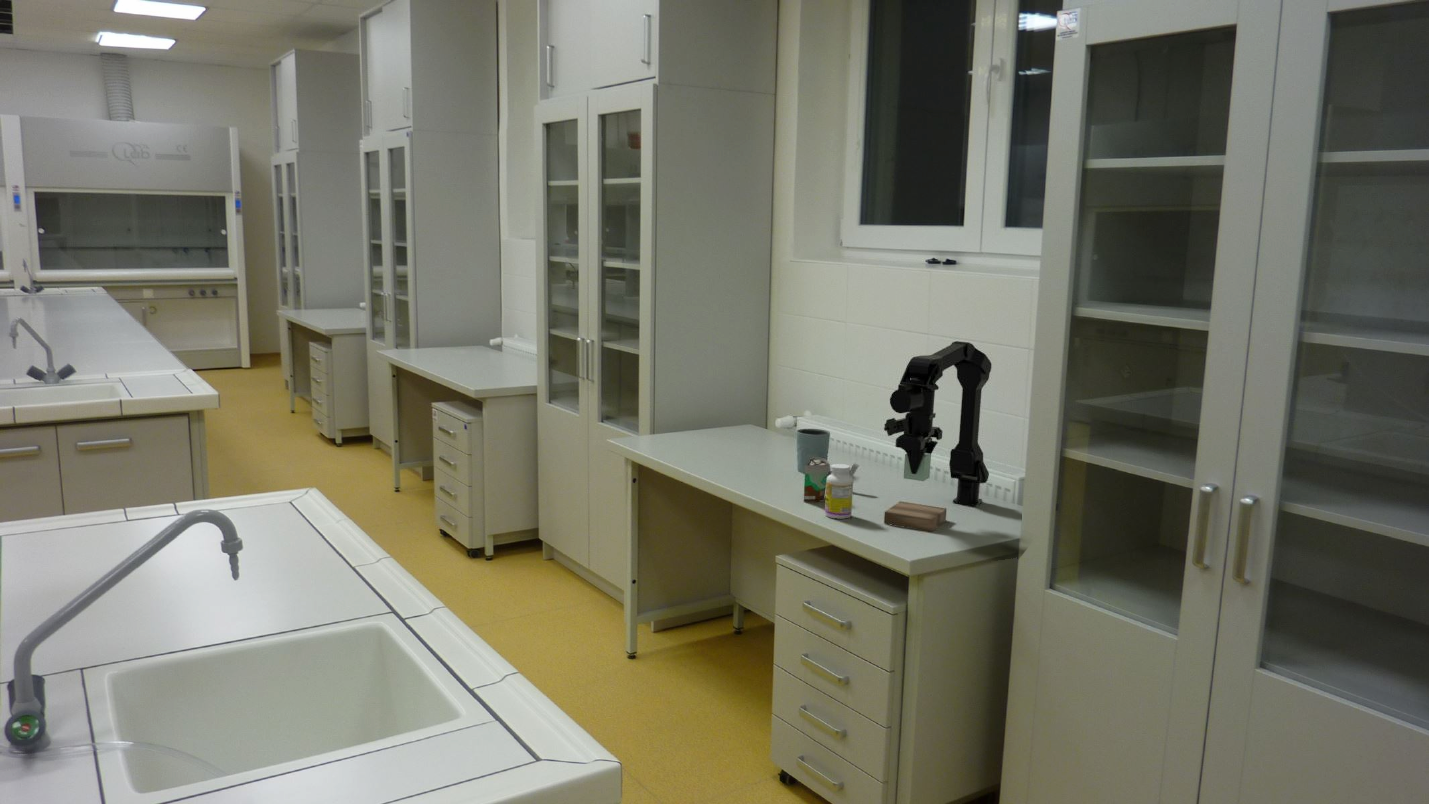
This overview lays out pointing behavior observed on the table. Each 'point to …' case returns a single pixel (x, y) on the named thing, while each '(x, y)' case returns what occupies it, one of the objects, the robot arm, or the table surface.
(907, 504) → the walnut base
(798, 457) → the grey plant pot
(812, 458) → the food container
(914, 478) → the green block
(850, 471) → the lighter
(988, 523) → the table surface
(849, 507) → the supplement bottle
